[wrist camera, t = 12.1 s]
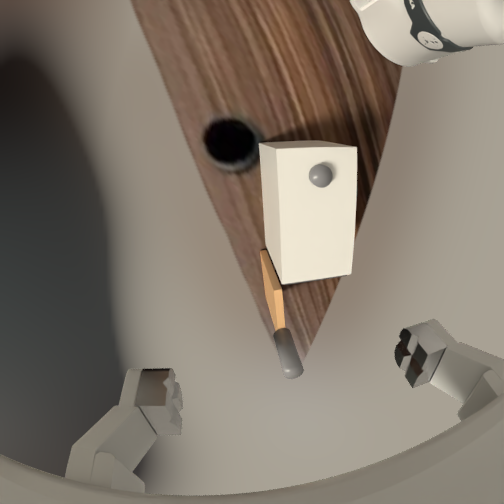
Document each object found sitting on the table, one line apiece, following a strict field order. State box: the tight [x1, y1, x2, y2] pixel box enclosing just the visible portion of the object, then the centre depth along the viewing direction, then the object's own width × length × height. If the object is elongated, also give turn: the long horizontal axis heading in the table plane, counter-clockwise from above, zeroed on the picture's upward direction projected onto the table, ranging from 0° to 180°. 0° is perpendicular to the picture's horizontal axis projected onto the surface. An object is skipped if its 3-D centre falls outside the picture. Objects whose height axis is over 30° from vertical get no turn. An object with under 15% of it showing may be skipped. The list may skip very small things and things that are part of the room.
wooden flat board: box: [260, 250, 304, 379], centre depth 38 cm, size 2×9×19 cm, turn 7°
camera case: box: [259, 140, 357, 285], centre depth 36 cm, size 16×10×13 cm, turn 4°
